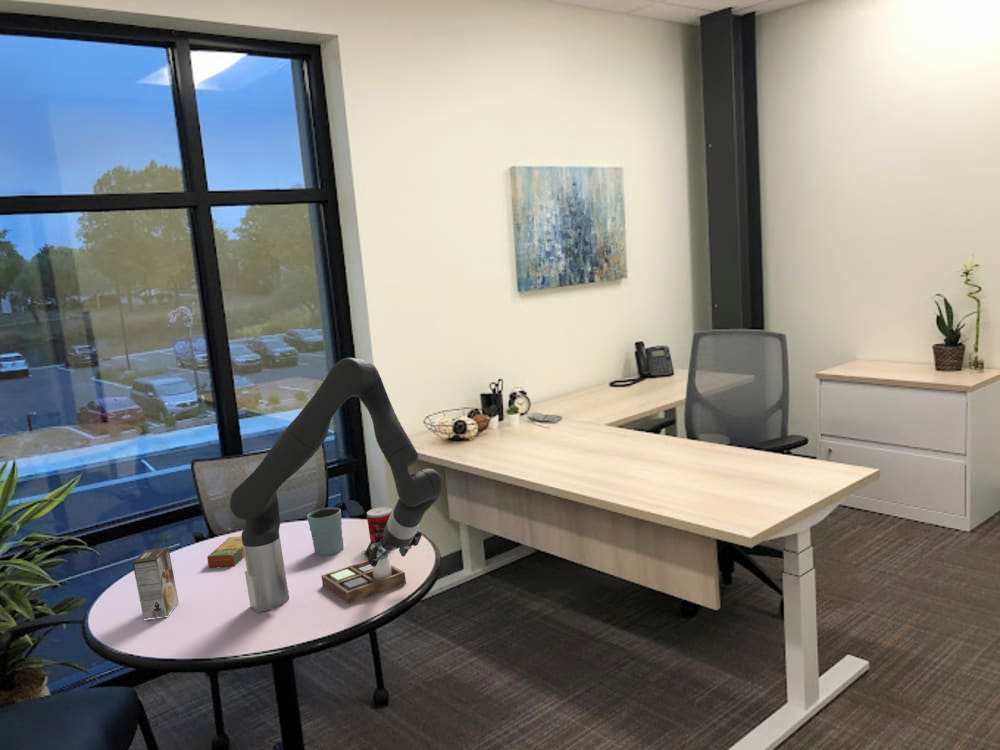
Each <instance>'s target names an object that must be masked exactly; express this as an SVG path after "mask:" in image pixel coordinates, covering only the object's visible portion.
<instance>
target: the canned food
mask: <svg viewBox="0 0 1000 750" xmlns="http://www.w3.org/2000/svg"><path fill="white" fill-rule="evenodd" d="M392 512H393V509H392V508H391V507H387V506H380V507H375V508H372V509H369V510H368V511H367V512H366V519H367V525H368V533H369V539H370V541H369V542H372V541H374V542H375V543H378V542H380V541H381V539H382V538H383V537H384V529H385V526H386V524H387V522H388V520H389V517H390V515H391V513H392Z"/></svg>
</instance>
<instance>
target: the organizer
mask: <svg viewBox="0 0 1000 750" xmlns="http://www.w3.org/2000/svg"><path fill="white" fill-rule="evenodd" d="M367 565H370V562H369V561H368V559H367V560H363V561H361V562H358V563H355V564H352V565H348V566H346V567H343V568H340V569H337V570H335V571H331V572H328V573H325V574H322V575H320V576H321V582H322V587H323V588H325V589H327V591H329V592H331V593H333V595H335V596H336V597H338V598H340V599H341V600H343V602H346V604H352V603H355V602H358V601H361V600H363V599H366V598H370V597H371V596H374V595H377V594H379V593H380V594H381V593H383V592H385V591H389V590H390V589H393V588H397V587H399V586H402V585H405V584H406V583H407V579H406V573H405V571H403V570H401V569H399V568H397V567H396V566H394V565H392V564H391V571H392V576H389V577H386V578H384V579H381V580H378V581H376V580H374V577H373V570H371V571H368V572H365V573H362V572H361V571H359V569H358V568H361V567H364V566H367ZM346 569H348V570H350V571H351V572H353V573H355V574H356V576H354V577H351V578H348V579H345V580H342V581H339V582H334V581H333V580H331V577H330V575H331V574H334V573H337V572H340V571H343V570H346ZM360 577H361V578H363V579H365V580H366V581H368V584H367V585H364V586H361V587H358V588H355V589H353V590H350V591H348V590H347V589H345V588H344V585H343V583H346V582H349V581H351V580H354V579H357V578H360Z"/></svg>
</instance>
